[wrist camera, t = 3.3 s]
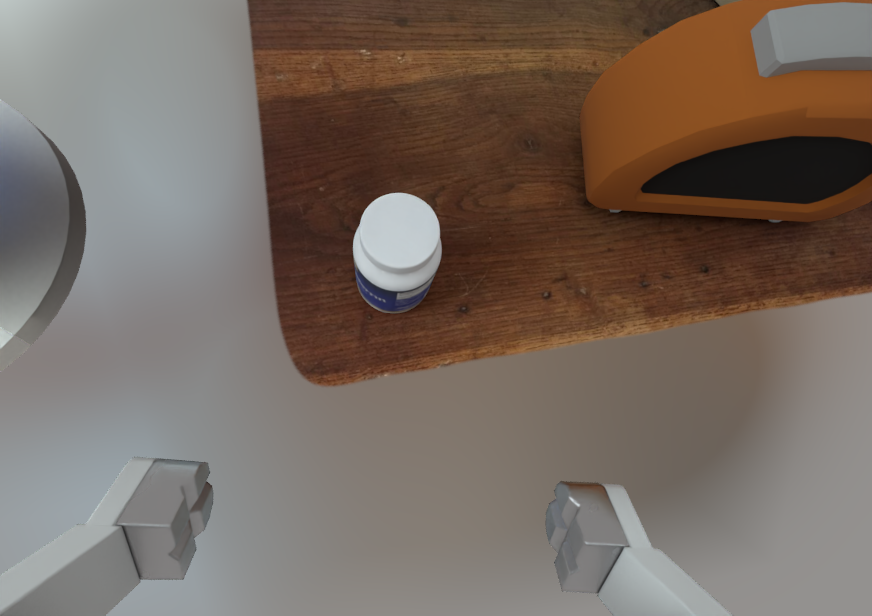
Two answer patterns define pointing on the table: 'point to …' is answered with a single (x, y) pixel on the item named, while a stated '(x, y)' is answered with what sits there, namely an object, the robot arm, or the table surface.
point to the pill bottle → (396, 252)
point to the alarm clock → (738, 115)
